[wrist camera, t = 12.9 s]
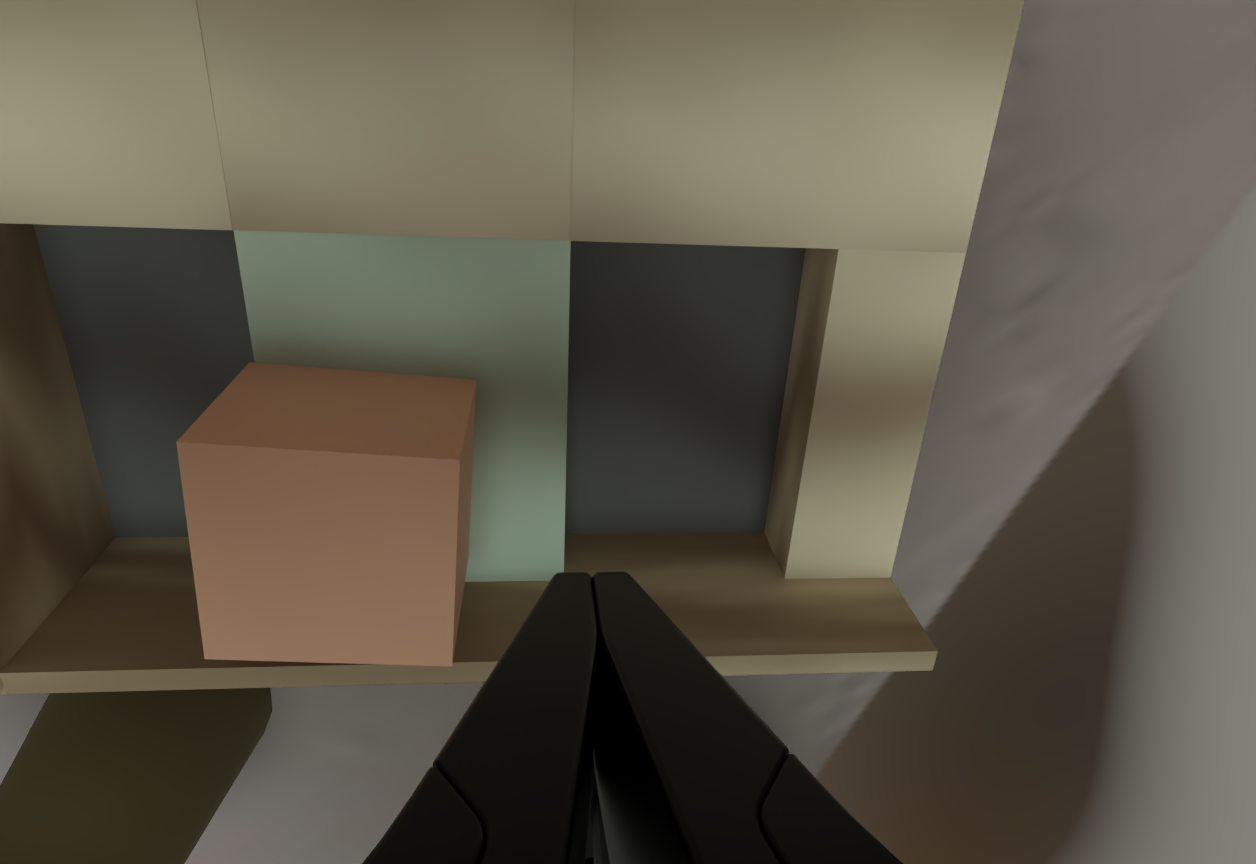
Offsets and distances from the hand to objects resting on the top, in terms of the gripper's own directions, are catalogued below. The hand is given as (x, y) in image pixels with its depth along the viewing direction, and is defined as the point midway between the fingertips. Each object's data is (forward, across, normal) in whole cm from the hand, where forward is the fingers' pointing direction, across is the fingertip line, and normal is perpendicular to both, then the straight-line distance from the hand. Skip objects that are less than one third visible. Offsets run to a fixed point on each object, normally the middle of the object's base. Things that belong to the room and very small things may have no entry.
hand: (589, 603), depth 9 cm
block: (+10, +5, +4) cm, 12 cm away
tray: (+12, +2, -2) cm, 13 cm away
